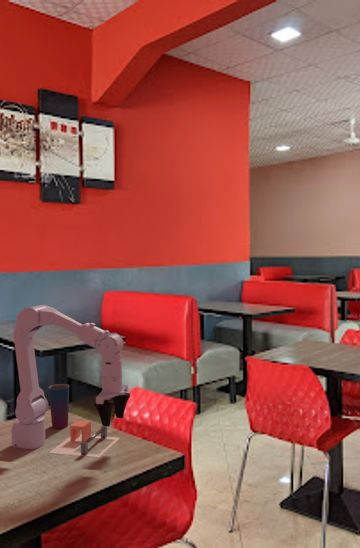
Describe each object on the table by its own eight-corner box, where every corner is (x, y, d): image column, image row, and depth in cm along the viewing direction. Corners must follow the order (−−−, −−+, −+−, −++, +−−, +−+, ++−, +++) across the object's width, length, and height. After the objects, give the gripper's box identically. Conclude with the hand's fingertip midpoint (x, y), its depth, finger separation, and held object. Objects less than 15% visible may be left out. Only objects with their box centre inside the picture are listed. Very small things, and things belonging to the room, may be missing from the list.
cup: (54, 427, 183) (52, 383, 182) (73, 427, 182) (72, 384, 181) (46, 433, 176) (45, 389, 175) (66, 434, 175) (65, 389, 174)
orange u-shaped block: (70, 441, 164) (70, 425, 164) (77, 436, 169) (77, 420, 168) (84, 442, 163) (83, 426, 162) (91, 437, 167) (90, 421, 167)
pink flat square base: (48, 457, 155) (48, 440, 155) (73, 438, 171) (73, 423, 171) (99, 462, 151) (98, 445, 151) (120, 442, 167) (119, 426, 166)
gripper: (110, 382, 147) (111, 431, 147) (136, 371, 160) (136, 416, 161) (89, 380, 150) (90, 428, 150) (115, 369, 163) (116, 413, 164)
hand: (113, 421), depth 156 cm, fingers open, 7 cm apart
